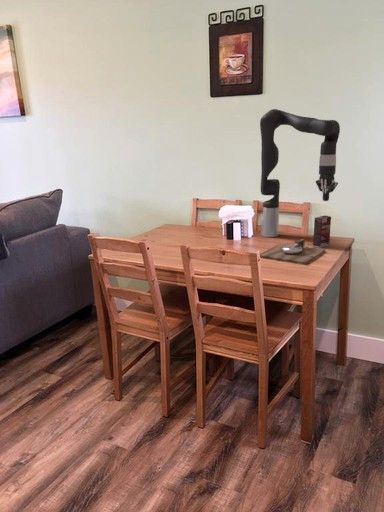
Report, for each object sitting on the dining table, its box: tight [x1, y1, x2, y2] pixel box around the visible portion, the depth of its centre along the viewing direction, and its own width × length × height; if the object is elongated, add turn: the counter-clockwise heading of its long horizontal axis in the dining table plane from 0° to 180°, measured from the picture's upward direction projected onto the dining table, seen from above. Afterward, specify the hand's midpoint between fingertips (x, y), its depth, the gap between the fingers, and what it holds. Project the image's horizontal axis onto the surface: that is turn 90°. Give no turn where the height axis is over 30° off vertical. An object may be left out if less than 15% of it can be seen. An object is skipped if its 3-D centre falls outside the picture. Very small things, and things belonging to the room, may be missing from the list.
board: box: [259, 243, 326, 266], centre depth 215 cm, size 25×25×2 cm
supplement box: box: [312, 214, 332, 249], centre depth 225 cm, size 9×5×16 cm, turn 128°
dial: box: [282, 239, 306, 254], centre depth 216 cm, size 16×10×4 cm, turn 136°
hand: (325, 200), depth 206 cm, fingers closed
